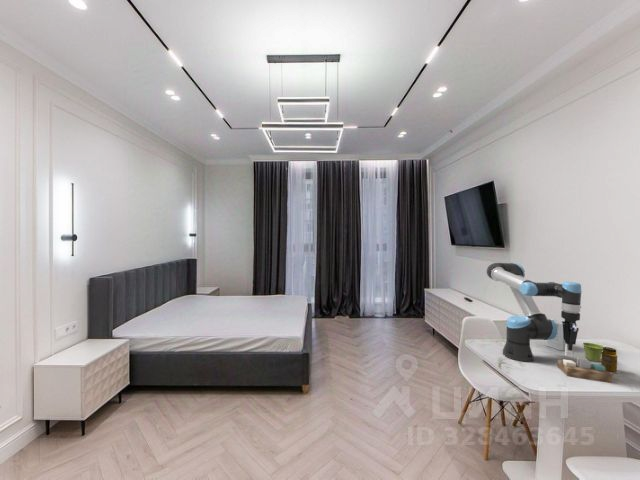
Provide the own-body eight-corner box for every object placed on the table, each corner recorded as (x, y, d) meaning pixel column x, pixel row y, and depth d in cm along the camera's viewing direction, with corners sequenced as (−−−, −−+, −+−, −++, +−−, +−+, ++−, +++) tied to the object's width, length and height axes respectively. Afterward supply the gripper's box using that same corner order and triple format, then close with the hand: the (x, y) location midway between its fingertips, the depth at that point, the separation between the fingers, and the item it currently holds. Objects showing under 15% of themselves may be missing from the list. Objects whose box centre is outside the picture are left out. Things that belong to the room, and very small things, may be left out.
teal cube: (595, 374, 149) (595, 366, 149) (591, 370, 153) (591, 363, 153) (605, 375, 148) (605, 367, 148) (600, 372, 152) (600, 364, 152)
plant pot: (608, 364, 167) (608, 349, 167) (589, 362, 168) (589, 347, 168) (596, 357, 176) (596, 343, 176) (578, 356, 178) (578, 341, 178)
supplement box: (563, 351, 186) (563, 324, 185) (546, 346, 194) (546, 320, 194) (569, 348, 190) (570, 322, 190) (553, 343, 198) (553, 319, 198)
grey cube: (580, 368, 151) (580, 360, 151) (576, 365, 155) (577, 357, 155) (590, 369, 150) (590, 362, 150) (586, 366, 154) (586, 359, 154)
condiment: (621, 373, 155) (622, 350, 155) (609, 374, 154) (610, 351, 154) (605, 367, 163) (605, 345, 163) (593, 368, 161) (594, 346, 161)
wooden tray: (567, 375, 150) (567, 368, 150) (557, 366, 161) (557, 359, 161) (612, 382, 144) (612, 374, 144) (598, 372, 155) (599, 365, 155)
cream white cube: (566, 369, 153) (566, 362, 153) (562, 366, 157) (563, 359, 157) (575, 371, 152) (575, 363, 152) (572, 368, 156) (572, 360, 156)
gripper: (585, 315, 147) (583, 361, 148) (573, 309, 159) (571, 352, 160) (567, 313, 150) (565, 359, 150) (556, 307, 162) (555, 350, 162)
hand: (568, 355), depth 155 cm, fingers closed
